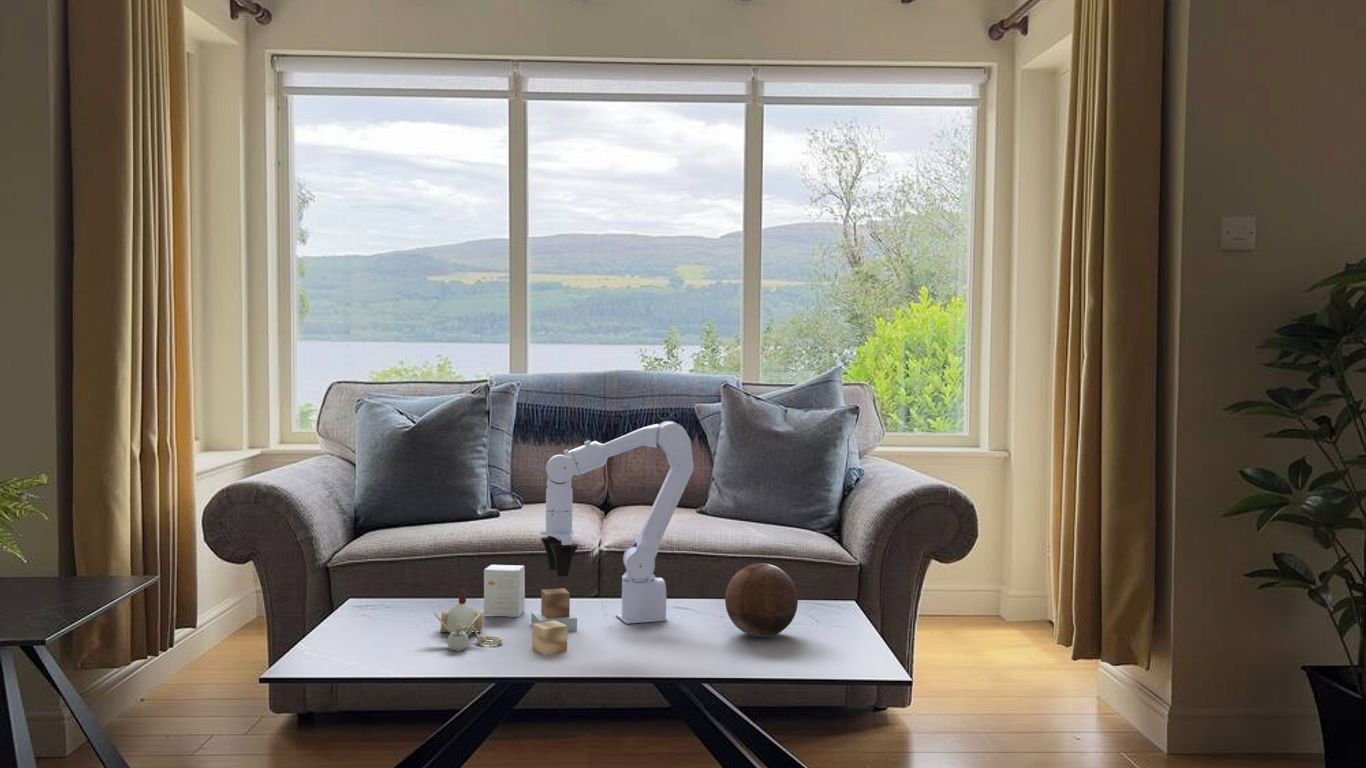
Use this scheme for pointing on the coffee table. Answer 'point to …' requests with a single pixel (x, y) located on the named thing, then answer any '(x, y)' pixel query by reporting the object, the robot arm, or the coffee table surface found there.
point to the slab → (569, 621)
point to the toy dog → (464, 625)
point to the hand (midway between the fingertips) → (558, 572)
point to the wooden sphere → (761, 600)
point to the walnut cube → (555, 603)
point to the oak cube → (549, 637)
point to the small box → (504, 590)
